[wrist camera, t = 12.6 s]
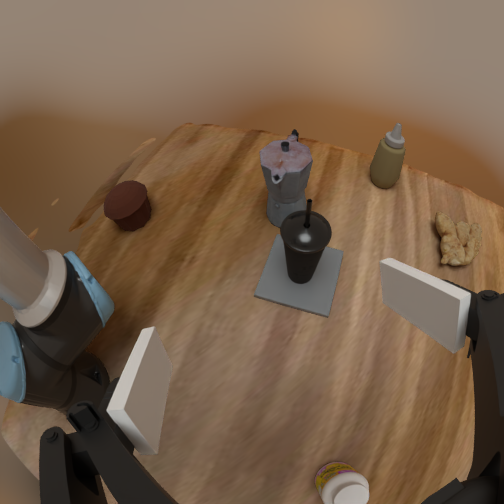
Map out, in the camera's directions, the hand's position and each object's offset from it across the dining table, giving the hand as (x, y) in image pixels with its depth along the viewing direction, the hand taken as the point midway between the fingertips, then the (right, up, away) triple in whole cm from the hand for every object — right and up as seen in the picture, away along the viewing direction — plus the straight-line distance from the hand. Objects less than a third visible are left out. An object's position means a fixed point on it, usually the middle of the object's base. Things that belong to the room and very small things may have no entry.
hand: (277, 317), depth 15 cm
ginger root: (+46, +4, +38) cm, 60 cm away
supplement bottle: (+12, -34, +18) cm, 40 cm away
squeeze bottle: (+32, +22, +50) cm, 63 cm away
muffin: (-30, +12, +50) cm, 60 cm away
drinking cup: (+8, 0, +38) cm, 38 cm away
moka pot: (+6, +12, +47) cm, 49 cm away
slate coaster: (+8, -1, +38) cm, 39 cm away
